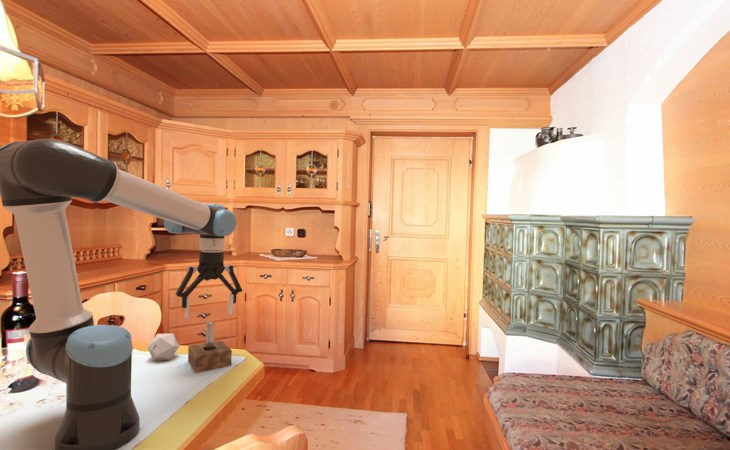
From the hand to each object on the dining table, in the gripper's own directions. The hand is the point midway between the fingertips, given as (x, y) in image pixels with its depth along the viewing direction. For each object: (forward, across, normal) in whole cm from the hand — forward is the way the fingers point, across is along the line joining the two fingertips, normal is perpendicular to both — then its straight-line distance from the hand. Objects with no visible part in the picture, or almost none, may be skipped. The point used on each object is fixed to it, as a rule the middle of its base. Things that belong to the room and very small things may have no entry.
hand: (209, 315), depth 124 cm
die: (+16, -11, +12) cm, 23 cm away
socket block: (+16, +1, 0) cm, 16 cm away
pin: (+14, +1, 0) cm, 14 cm away
